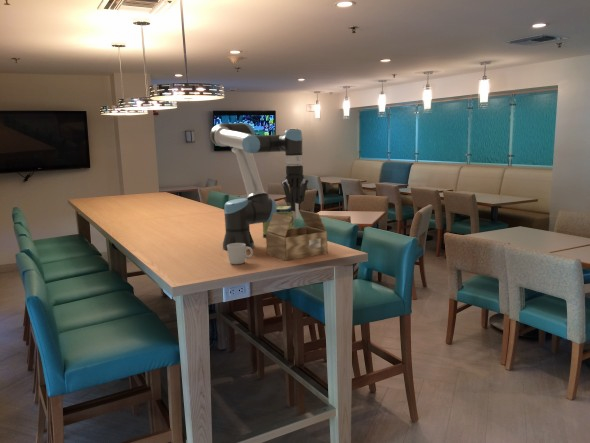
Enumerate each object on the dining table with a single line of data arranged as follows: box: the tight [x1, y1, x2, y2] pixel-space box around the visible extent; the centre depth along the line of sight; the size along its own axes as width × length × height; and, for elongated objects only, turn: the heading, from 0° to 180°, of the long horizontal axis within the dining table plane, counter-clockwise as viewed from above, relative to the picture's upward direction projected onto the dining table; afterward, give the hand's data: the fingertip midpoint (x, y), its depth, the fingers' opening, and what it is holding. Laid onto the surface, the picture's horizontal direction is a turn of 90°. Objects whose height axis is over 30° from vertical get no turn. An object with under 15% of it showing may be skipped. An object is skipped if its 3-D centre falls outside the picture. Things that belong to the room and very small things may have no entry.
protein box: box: [262, 205, 295, 238], centre depth 259 cm, size 10×16×16 cm
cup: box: [226, 243, 254, 265], centre depth 203 cm, size 11×8×8 cm
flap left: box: [267, 213, 292, 237], centre depth 211 cm, size 1×16×9 cm, turn 31°
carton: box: [265, 226, 328, 262], centre depth 217 cm, size 22×18×10 cm
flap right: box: [299, 209, 327, 232], centre depth 219 cm, size 1×16×9 cm, turn 32°
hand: (295, 217), depth 215 cm, fingers closed
